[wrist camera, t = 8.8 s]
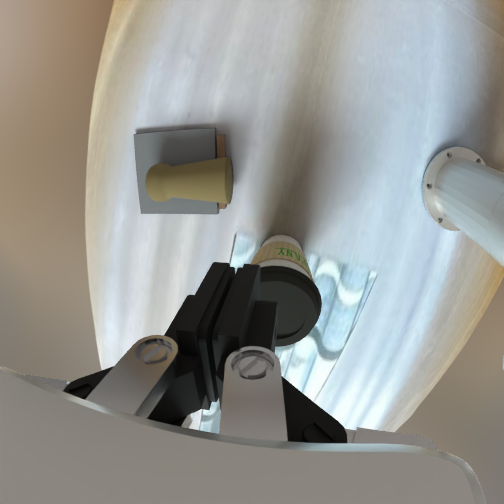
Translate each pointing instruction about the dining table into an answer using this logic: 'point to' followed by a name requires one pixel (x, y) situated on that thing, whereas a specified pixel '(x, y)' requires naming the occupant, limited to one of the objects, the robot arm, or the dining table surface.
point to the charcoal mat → (173, 153)
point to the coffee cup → (288, 288)
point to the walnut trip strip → (221, 155)
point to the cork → (192, 181)
